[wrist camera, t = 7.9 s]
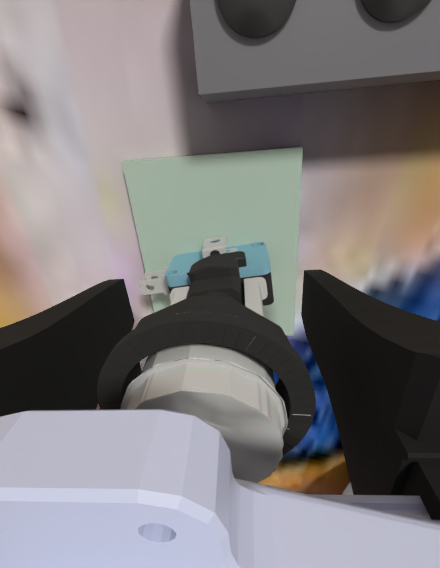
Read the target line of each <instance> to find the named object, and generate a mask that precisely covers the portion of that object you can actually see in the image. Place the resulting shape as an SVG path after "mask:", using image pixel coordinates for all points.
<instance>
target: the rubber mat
mask: <svg viewBox="0 0 440 568" xmlns="http://www.w3.org/2000/svg"><path fill="white" fill-rule="evenodd" d="M302 157H303V147H288V148H276V149H264V150H252V151H239V152H227V153H215V154H203V155H191V156H178V157H166V158H154V159H142V160H130V161H123V162H122V166H123V170H124V175H125V180H126V184H127V189H128V194H129V198H130V203H131V207H132V212H133V217H134V221H135V226H136V231H137V235H138V240H139V244H140V249H141V254H142V258H143V263H144V268H145V272H153V271H160V270H163V267H169V265H170V263H171V261H172V259H173V257H174V256H176V255H179V254H184V253H191V252H198V251H202V249H203V243H204V240H206V239H208V238H214V237H221V236H225V237H226V238H227V239H226V245H225V246H226V247H232V246H239V245H246V244H252V243H255V242H265V243H266V247H267V251H268V255H269V259H270V267H271V277H272V287H273V296H274V302H273V303H272V304H271V305H266V306H263V309H264V316H265V318H267V319H268V320H270V321H272V322H274V323H275V324H277V325H279V326H280V327H281V328H282V329H283V331H284V333H285V335H294V321H295V300H296V280H297V259H298V239H299V218H300V198H301V177H302ZM215 242H219V241H212V242H211V243H215ZM155 278H158V276H156V275H153V276H152V277H151V279H155ZM154 288H155V287H154V286H149V290H154ZM150 295H151V300H152V305H153V309H154V313H155V312H157V311H159V310H161V309H164V308H166V307H168V306H170V305H171V301H170V295H164V293H157V294H150Z"/></svg>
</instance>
